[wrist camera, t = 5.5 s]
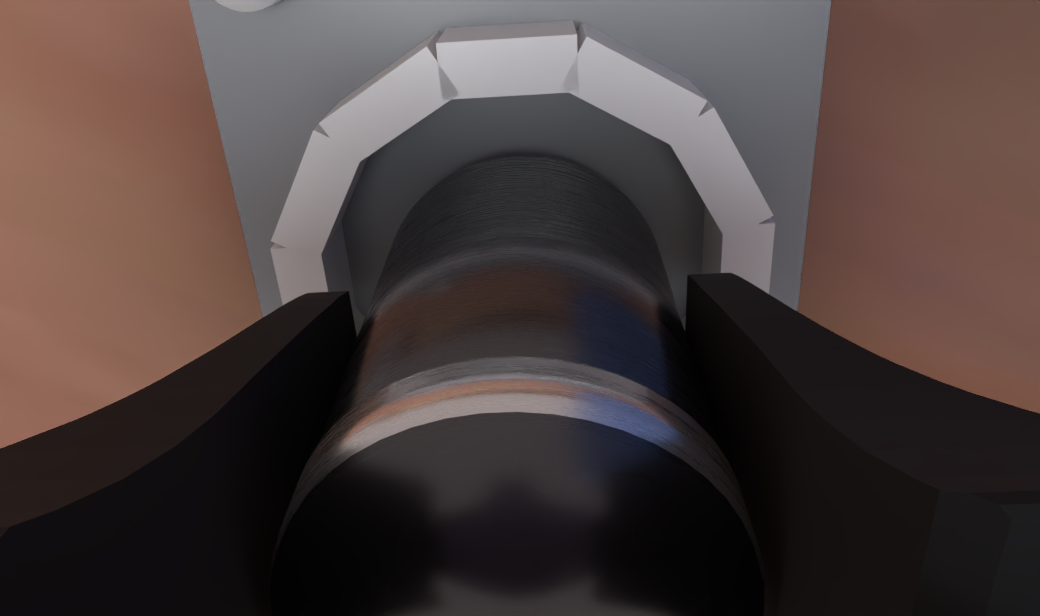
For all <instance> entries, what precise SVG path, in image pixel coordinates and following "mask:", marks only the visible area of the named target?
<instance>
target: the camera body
mask: <svg viewBox="0 0 1040 616" xmlns="http://www.w3.org/2000/svg"><path fill="white" fill-rule="evenodd" d="M189 4H190V8H191V12H192V16H193V21H194V25H195V29H196V33H197V38H198V42H199V46H200V51H201V55H202V59H203V63H204V68H205V72H206V76H207V80H208V85H209V89H210V93H211V98H212V102H213V106H214V110H215V115H216V119H217V123H218V127H219V132H220V136H221V140H222V144H223V149H224V153H225V157H226V162H227V166H228V170H229V174H230V179H231V183H232V187H233V191H234V196H235V200H236V204H237V208H238V213H239V217H240V221H241V226H242V230H243V234H244V238H245V243H246V247H247V251H248V255H249V260H250V264H251V268H252V272H253V277H254V281H255V285H256V290H257V294H258V298H259V302H260V307H261V311H262V315H263V317H265V316H266V315H268V314H270V313H271V312H273V311H274V310H276V309H278V308H279V307H281V306H283V305H284V304H286V303H288V302H289V301H291V300H293V299H295V298H297V297H299V296H301V295H304V294H306V293H315V292H336V291H349V295H350V300H351V306H352V312H353V317H354V323H355V329H356V334H357V337H358V334H359V331H360V329H361V326H362V323H363V321H364V318H365V315H366V313H367V310H368V307H369V305H370V302H371V299H372V296H373V294H374V291H375V288H376V286H377V283H378V280H379V278H380V275H381V272H382V270H383V267H384V264H385V262H386V259H387V256H388V254H389V251H390V248H391V246H392V243H393V240H394V238H395V236H396V234H397V231H398V229H399V227H400V225H401V223H402V222H403V220H404V218H405V217H406V215H407V214H408V212H409V211H410V209H411V208H412V207H413V206H414V205H415V204H416V202H417V201H418V200H419V199H420V198H421V197H422V196H423V195H424V194H425V193H426V192H428V191H429V190H430V189H431V188H432V187H433V186H434V185H436V184H437V183H439V182H440V181H442V180H443V179H445V178H446V177H448V176H450V175H451V174H453V173H455V172H457V171H460V170H462V169H464V168H466V167H468V166H471V165H474V164H477V163H480V162H484V161H487V160H492V159H497V158H503V157H514V156H534V157H546V158H551V159H556V160H561V161H565V162H568V163H571V164H574V165H577V166H580V167H583V168H585V169H587V170H589V171H591V172H593V173H595V174H597V175H599V176H601V177H602V178H604V179H605V180H607V181H608V182H610V183H611V184H613V185H614V186H616V187H617V188H618V189H619V190H620V191H621V192H622V193H623V194H625V195H626V196H627V197H628V198H629V199H630V200H631V201H632V203H633V204H634V205H635V206H636V207H637V208H638V210H639V211H640V212H641V214H642V215H643V217H644V218H645V220H646V222H647V223H648V225H649V226H650V229H651V231H652V233H653V235H654V238H655V240H656V242H657V245H658V248H659V252H660V255H661V258H662V261H663V264H664V267H665V270H666V273H667V277H668V280H669V283H670V286H671V289H672V292H673V295H674V299H675V302H676V305H677V308H678V311H679V314H680V317H681V321H682V324H683V327H684V330H685V325H686V298H687V275H691V274H712V273H733V274H735V275H738V276H739V277H741V278H743V279H745V280H747V281H748V282H750V283H752V284H753V285H755V286H757V287H758V288H760V289H762V290H763V291H765V292H766V293H768V294H770V295H771V296H773V297H774V298H776V299H778V300H779V301H781V302H782V303H784V304H786V305H787V306H789V307H790V308H792V309H794V310H795V311H797V312H798V302H799V293H800V284H801V275H802V265H803V256H804V247H805V238H806V229H807V219H808V210H809V201H810V192H811V182H812V173H813V164H814V155H815V145H816V136H817V127H818V118H819V108H820V99H821V90H822V81H823V71H824V62H825V53H826V44H827V34H828V25H829V16H830V7H831V0H189Z"/></svg>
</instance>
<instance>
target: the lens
mask: <svg viewBox="0 0 1040 616" xmlns="http://www.w3.org/2000/svg"><path fill="white" fill-rule="evenodd" d="M764 590H765V581H764V566H763V561H762V557H761V553H760V549H759V545H758V541H757V538H756V535H755V532H754V529H753V526H752V523H751V520H750V517H749V514H748V511H747V508H746V505H745V502H744V498H743V495H742V492H741V489H740V486H739V483H738V481H737V479H736V477H735V474H734V472H733V470H732V468H731V466H730V464H729V461H728V460H727V458H726V457H725V455H724V452H723V449H722V446H721V443H720V440H719V437H718V434H717V430H716V427H715V424H714V421H713V418H712V415H711V412H710V408H709V405H708V402H707V399H706V396H705V393H704V390H703V386H702V383H701V380H700V377H699V374H698V371H697V368H696V365H695V361H694V358H693V355H692V352H691V349H690V346H689V343H688V339H687V336H686V333H685V330H684V327H683V324H682V321H681V317H680V314H679V311H678V308H677V305H676V302H675V299H674V295H673V292H672V289H671V286H670V283H669V280H668V277H667V273H666V270H665V267H664V264H663V261H662V258H661V255H660V252H659V248H658V245H657V242H656V240H655V238H654V235H653V233H652V231H651V229H650V226H649V225H648V223H647V222H646V220H645V218H644V217H643V215H642V214H641V212H640V211H639V210H638V208H637V207H636V206H635V205H634V204H633V203H632V201H631V200H630V199H629V198H628V197H627V196H626V195H625V194H623V193H622V192H621V191H620V190H619V189H618V188H617V187H616V186H614V185H613V184H611V183H610V182H608V181H607V180H605V179H604V178H602V177H601V176H599V175H597V174H595V173H593V172H591V171H589V170H587V169H585V168H583V167H580V166H577V165H574V164H571V163H568V162H565V161H561V160H556V159H551V158H546V157H534V156H514V157H503V158H497V159H492V160H487V161H484V162H480V163H477V164H474V165H471V166H468V167H466V168H464V169H462V170H460V171H457V172H455V173H453V174H451V175H450V176H448V177H446V178H445V179H443V180H442V181H440V182H439V183H437V184H436V185H434V186H433V187H432V188H431V189H430V190H429V191H428V192H426V193H425V194H424V195H423V196H422V197H421V198H420V199H419V200H418V201H417V202H416V204H415V205H414V206H413V207H412V208H411V209H410V211H409V212H408V214H407V215H406V217H405V218H404V220H403V222H402V223H401V225H400V227H399V229H398V231H397V234H396V236H395V238H394V240H393V243H392V246H391V248H390V251H389V254H388V256H387V259H386V262H385V264H384V267H383V270H382V272H381V275H380V278H379V280H378V283H377V286H376V288H375V291H374V294H373V296H372V299H371V302H370V305H369V307H368V310H367V313H366V315H365V318H364V321H363V323H362V326H361V329H360V331H359V334H358V337H357V339H356V342H355V345H354V347H353V350H352V353H351V355H350V358H349V361H348V363H347V366H346V369H345V371H344V374H343V377H342V380H341V382H340V385H339V388H338V390H337V393H336V396H335V398H334V401H333V404H332V406H331V409H330V412H329V414H328V417H327V420H326V422H325V425H324V428H323V430H322V433H321V436H320V438H319V441H318V444H317V446H316V448H315V449H314V450H313V452H312V453H311V455H310V457H309V459H308V461H307V463H306V465H305V467H304V469H303V471H302V473H301V476H300V478H299V481H298V483H297V486H296V488H295V491H294V494H293V496H292V499H291V502H290V504H289V507H288V509H287V512H286V515H285V517H284V520H283V522H282V525H281V528H280V530H279V533H278V537H277V540H276V544H275V548H274V551H273V555H272V566H271V586H270V602H271V610H272V616H763V614H764V606H765V599H764Z"/></svg>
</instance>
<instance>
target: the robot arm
mask: <svg viewBox="0 0 1040 616" xmlns="http://www.w3.org/2000/svg"><path fill="white" fill-rule="evenodd" d="M685 333H686V336H687V339H688V343H689V346H690V349H691V352H692V355H693V358H694V361H695V365H696V368H697V371H698V374H699V377H700V380H701V383H702V386H703V390H704V393H705V396H706V399H707V402H708V405H709V408H710V412H711V415H712V418H713V421H714V424H715V427H716V430H717V434H718V437H719V440H720V443H721V446H722V449H723V452H724V455H725V457H726V458H727V460H728V461H729V464H730V466H731V468H732V470H733V472H734V474H735V477H736V479H737V481H738V483H739V486H740V489H741V492H742V495H743V498H744V502H745V505H746V508H747V511H748V514H749V517H750V520H751V523H752V526H753V529H754V532H755V535H756V538H757V541H758V545H759V549H760V553H761V557H762V561H763V566H764V581H765V590H764V599H765V606H764V614H763V616H1040V414H1039V413H1035V412H1032V411H1028V410H1025V409H1021V408H1018V407H1015V406H1012V405H1008V404H1005V403H1002V402H999V401H996V400H992V399H989V398H986V397H983V396H980V395H976V394H973V393H970V392H967V391H965V390H962V389H959V388H956V387H953V386H950V385H948V384H945V383H942V382H940V381H937V380H935V379H932V378H930V377H927V376H925V375H922V374H920V373H918V372H915V371H913V370H910V369H908V368H905V367H903V366H900V365H898V364H896V363H893V362H891V361H889V360H887V359H885V358H882V357H880V356H878V355H876V354H874V353H872V352H870V351H868V350H866V349H864V348H862V347H860V346H858V345H856V344H854V343H852V342H850V341H848V340H847V339H845V338H843V337H841V336H839V335H837V334H835V333H833V332H832V331H830V330H828V329H826V328H824V327H823V326H821V325H819V324H817V323H816V322H814V321H812V320H810V319H809V318H807V317H805V316H804V315H802V314H800V313H799V312H797V311H795V310H794V309H792V308H790V307H789V306H787V305H786V304H784V303H782V302H781V301H779V300H778V299H776V298H774V297H773V296H771V295H770V294H768V293H766V292H765V291H763V290H762V289H760V288H758V287H757V286H755V285H753V284H752V283H750V282H748V281H747V280H745V279H743V278H741V277H739V276H738V275H735V274H733V273H712V274H691V275H687V298H686V325H685ZM356 339H357V334H356V329H355V323H354V317H353V312H352V306H351V300H350V295H349V291H336V292H315V293H306V294H304V295H301V296H299V297H297V298H295V299H293V300H291V301H289V302H288V303H286V304H284V305H283V306H281V307H279V308H278V309H276V310H274V311H273V312H271V313H270V314H268V315H266V316H265V317H263V318H262V319H260V320H259V321H257V322H255V323H254V324H252V325H251V326H249V327H248V328H246V329H244V330H243V331H241V332H240V333H238V334H236V335H235V336H233V337H232V338H230V339H229V340H227V341H225V342H224V343H222V344H221V345H219V346H217V347H216V348H214V349H213V350H211V351H209V352H207V353H206V354H204V355H202V356H200V357H199V358H197V359H195V360H193V361H192V362H190V363H188V364H187V365H185V366H183V367H181V368H180V369H178V370H176V371H174V372H173V373H171V374H169V375H168V376H166V377H164V378H162V379H161V380H159V381H157V382H155V383H153V384H151V385H149V386H147V387H145V388H143V389H141V390H139V391H137V392H135V393H133V394H131V395H129V396H127V397H125V398H123V399H121V400H119V401H117V402H115V403H112V404H110V405H108V406H106V407H104V408H102V409H99V410H97V411H95V412H93V413H91V414H88V415H86V416H84V417H81V418H79V419H77V420H74V421H72V422H69V423H66V424H64V425H61V426H59V427H56V428H53V429H51V430H48V431H46V432H43V433H40V434H38V435H35V436H33V437H30V438H27V439H25V440H22V441H19V442H17V443H14V444H12V445H9V446H6V447H4V448H1V449H0V616H272V610H271V602H270V586H271V566H272V555H273V551H274V548H275V544H276V540H277V537H278V533H279V530H280V528H281V525H282V522H283V520H284V517H285V515H286V512H287V509H288V507H289V504H290V502H291V499H292V496H293V494H294V491H295V488H296V486H297V483H298V481H299V478H300V476H301V473H302V471H303V469H304V467H305V465H306V463H307V461H308V459H309V457H310V455H311V453H312V452H313V450H314V449H315V448H316V446H317V444H318V441H319V438H320V436H321V433H322V430H323V428H324V425H325V422H326V420H327V417H328V414H329V412H330V409H331V406H332V404H333V401H334V398H335V396H336V393H337V390H338V388H339V385H340V382H341V380H342V377H343V374H344V371H345V369H346V366H347V363H348V361H349V358H350V355H351V353H352V350H353V347H354V345H355V342H356Z"/></svg>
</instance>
